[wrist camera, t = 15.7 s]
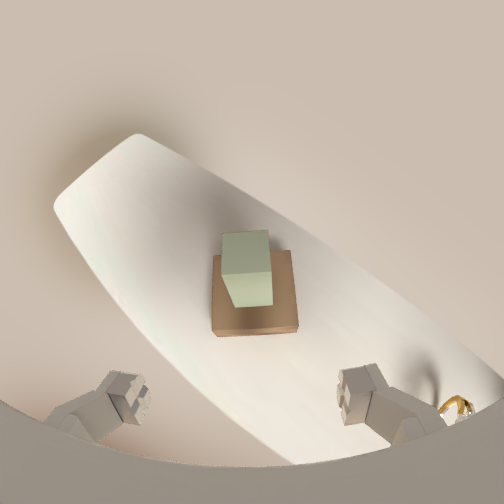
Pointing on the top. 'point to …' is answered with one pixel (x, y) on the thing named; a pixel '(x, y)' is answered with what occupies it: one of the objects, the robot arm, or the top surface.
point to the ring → (461, 404)
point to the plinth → (259, 317)
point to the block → (247, 268)
